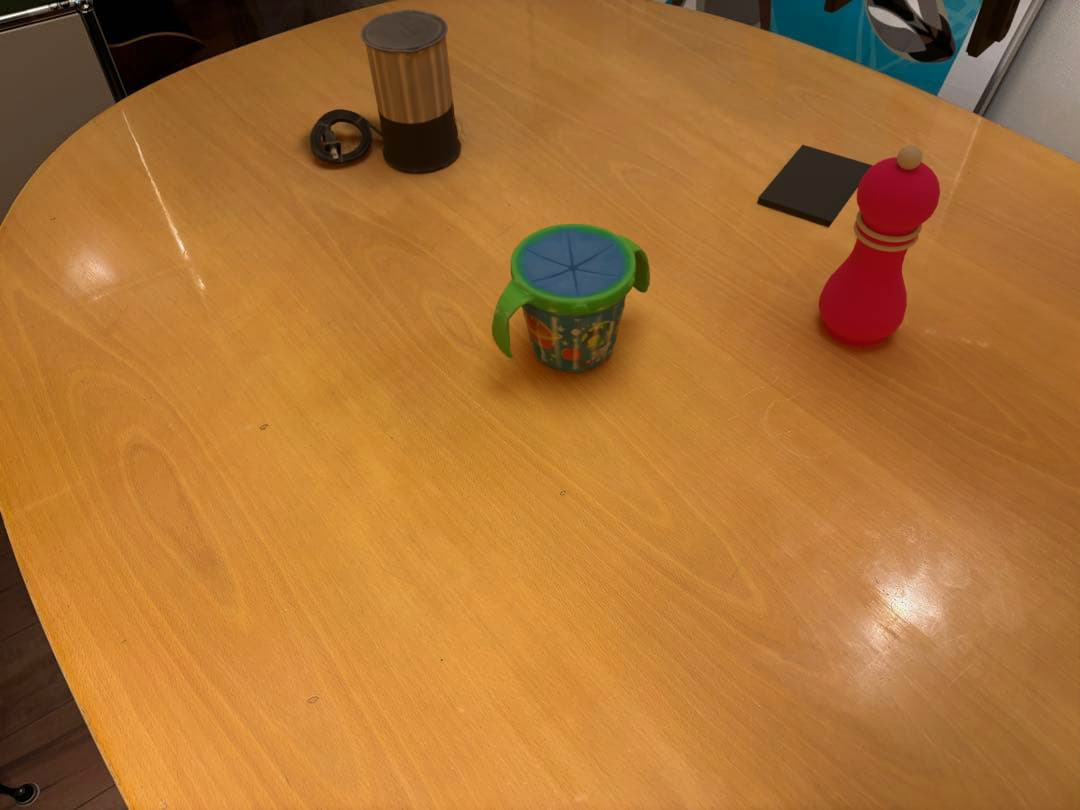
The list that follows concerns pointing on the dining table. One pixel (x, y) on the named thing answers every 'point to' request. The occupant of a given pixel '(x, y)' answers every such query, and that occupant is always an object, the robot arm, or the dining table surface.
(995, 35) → the robot arm
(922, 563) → the dining table surface
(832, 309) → the pepper mill
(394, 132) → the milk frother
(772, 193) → the mat
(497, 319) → the snack cup
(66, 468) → the dining table surface
